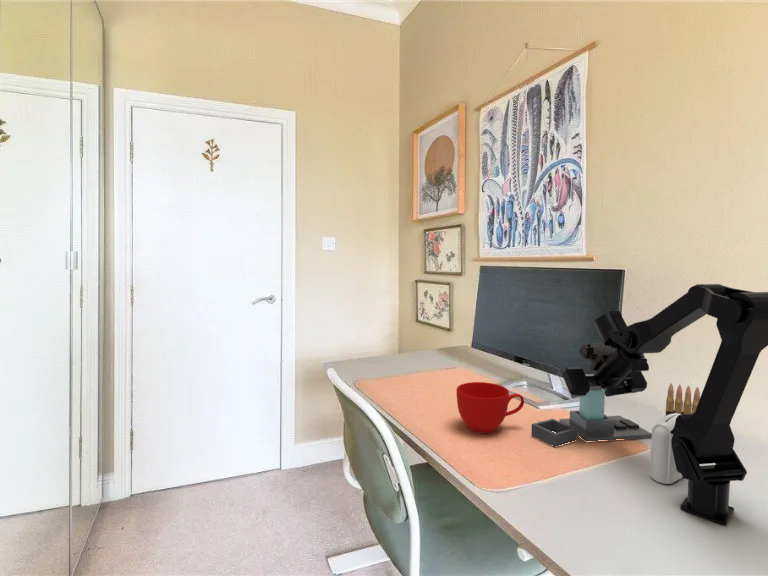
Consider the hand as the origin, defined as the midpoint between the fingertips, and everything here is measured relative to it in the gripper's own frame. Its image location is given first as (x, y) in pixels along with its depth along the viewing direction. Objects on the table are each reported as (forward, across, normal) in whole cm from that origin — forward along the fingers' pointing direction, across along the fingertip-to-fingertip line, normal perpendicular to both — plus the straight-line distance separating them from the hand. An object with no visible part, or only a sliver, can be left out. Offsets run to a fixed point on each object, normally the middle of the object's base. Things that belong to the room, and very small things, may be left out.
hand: (588, 395), depth 110 cm
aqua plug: (+4, 0, +6) cm, 8 cm away
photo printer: (-10, -3, +23) cm, 25 cm away
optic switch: (+5, -4, +7) cm, 9 cm away
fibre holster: (+3, +11, +9) cm, 15 cm away
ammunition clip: (+2, -23, +11) cm, 25 cm away
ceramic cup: (+9, +24, +3) cm, 26 cm away
